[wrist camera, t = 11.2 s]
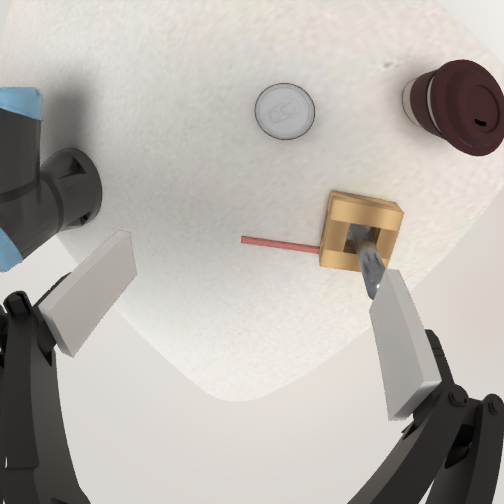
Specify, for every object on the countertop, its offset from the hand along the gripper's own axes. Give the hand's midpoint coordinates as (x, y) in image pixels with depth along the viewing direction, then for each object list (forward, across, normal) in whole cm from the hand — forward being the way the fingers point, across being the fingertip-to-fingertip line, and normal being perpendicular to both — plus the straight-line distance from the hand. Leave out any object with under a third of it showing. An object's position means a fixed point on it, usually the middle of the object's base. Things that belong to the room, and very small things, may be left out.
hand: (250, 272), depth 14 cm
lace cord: (+27, +1, -12) cm, 29 cm away
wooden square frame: (+27, +12, -8) cm, 30 cm away
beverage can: (+27, 0, +7) cm, 28 cm away
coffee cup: (+27, +19, +12) cm, 35 cm away
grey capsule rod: (+27, +12, -8) cm, 30 cm away
